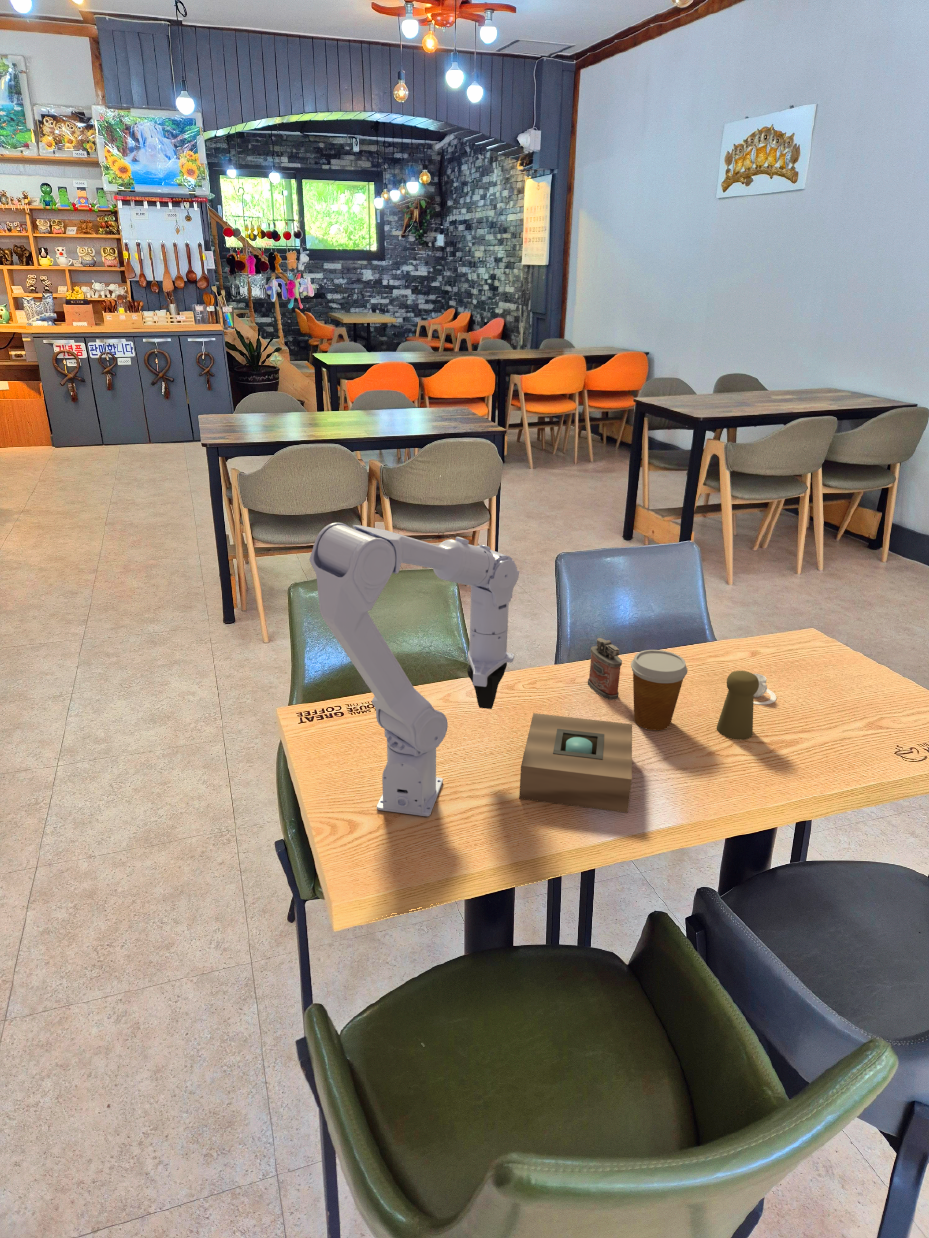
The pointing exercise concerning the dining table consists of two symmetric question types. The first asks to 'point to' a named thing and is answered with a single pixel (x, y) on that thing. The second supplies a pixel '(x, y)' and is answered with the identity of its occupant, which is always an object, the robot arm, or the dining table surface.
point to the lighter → (605, 669)
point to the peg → (579, 745)
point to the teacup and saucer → (763, 690)
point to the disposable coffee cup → (656, 687)
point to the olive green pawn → (738, 706)
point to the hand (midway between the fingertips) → (486, 706)
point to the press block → (577, 763)
